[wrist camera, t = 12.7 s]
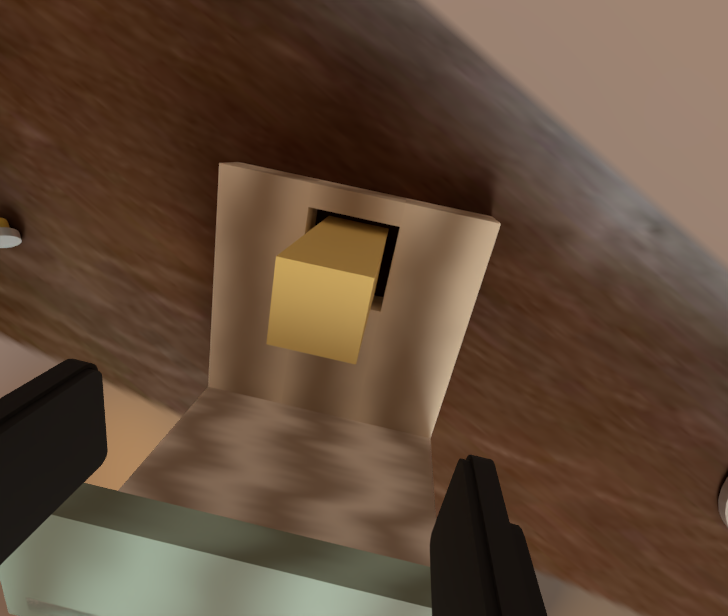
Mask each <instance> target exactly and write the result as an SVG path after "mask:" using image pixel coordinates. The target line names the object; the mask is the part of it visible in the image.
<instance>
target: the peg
mask: <svg viewBox="0 0 728 616" xmlns="http://www.w3.org/2000/svg"><path fill="white" fill-rule="evenodd" d="M388 230H389V228H384V227H379V226H375V225H370V224H366V223H361V222H356V221H352V220H347V219H342V218H338V217H333V216H328V217H327V218H325V219H324V220H323V221H321V222H320V223H319V224H317V225H316V226H315V227H314V228H312V229H311V230H310V231H308V232H307V233H306V234H304V235H303V236H302V237H301V238H299V239H298V240H297V241H295V242H294V243H293V244H291V245H290V246H289V247H287V248H286V249H285V250H284V251H282V252H281V253H280V254H278V255H277V256H276V261H275V270H274V279H273V288H272V297H271V306H270V315H269V325H268V334H267V343H266V344H268V345H272V346H277V347H281V348H285V349H290V350H294V351H299V352H303V353H307V354H312V355H316V356H321V357H325V358H329V359H334V360H338V361H343V362H347V363H351V364H356V363H357V359H358V355H359V351H360V347H361V343H362V339H363V336H364V332H365V328H366V324H367V320H368V316H369V312H370V309H371V305H372V301H373V297H374V293H375V289H376V285H377V281H378V276H379V272H380V267H381V262H382V258H383V253H384V249H385V244H386V239H387V235H388Z"/></svg>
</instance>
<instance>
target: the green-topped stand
mask: <svg viewBox="0 0 728 616" xmlns="http://www.w3.org/2000/svg"><path fill="white" fill-rule="evenodd" d="M317 209H320V210H325V211H329V212H334V213H338V214H343V215H348V216H352V217H357V218H361V219H366V220H371V221H375V222H380V223H384V224H389V225H394V226H398V227H399V231H398V236H397V240H396V244H395V249H394V253H393V257H392V262H391V266H390V270H389V275H388V279H387V283H386V288H385V292H384V297H380V296H376V295H374V297H373V301H372V305H371V309H370V312H369V316H368V320H367V324H366V328H365V332H364V336H363V339H362V343H361V347H360V351H359V355H358V359H357V363H356V364H351V363H347V362H343V361H338V360H334V359H329V358H325V357H321V356H316V355H312V354H307V353H303V352H299V351H294V350H290V349H285V348H281V347H277V346H272V345H268V344H266V343H267V334H268V325H269V315H270V306H271V297H272V288H273V279H274V270H275V261H276V256H277V255H278V254H280V253H281V252H282V251H284V250H285V249H286V248H287V247H289V246H290V245H291V244H293V243H294V242H295V241H297V240H298V239H299V238H301V237H302V236H303V235H304V234H306V233H307V232H308V231H310V230H311V229H312V228H314V227H315V223H316V216H317ZM500 225H501V223H499V222H498V221H497V220H496V219H494V218H493V217H492V216H487V215H483V214H478V213H474V212H469V211H464V210H460V209H455V208H450V207H446V206H441V205H436V204H432V203H427V202H422V201H418V200H413V199H409V198H404V197H399V196H395V195H390V194H385V193H381V192H376V191H371V190H367V189H362V188H357V187H353V186H348V185H344V184H339V183H334V182H330V181H325V180H320V179H316V178H311V177H306V176H302V175H297V174H292V173H288V172H283V171H279V170H274V169H269V168H265V167H260V166H255V165H251V164H246V163H241V162H227V163H219V177H218V197H217V218H216V238H215V259H214V279H213V300H212V320H211V341H210V361H209V382H208V387H207V389H206V390H205V391H204V392H203V393H202V394H201V396H200V397H199V398H198V399H197V400H196V401H195V402H194V404H193V405H192V406H191V407H190V408H189V409H188V411H187V412H186V413H185V414H184V415H183V416H182V417H181V419H180V420H179V421H178V422H177V423H176V424H175V426H174V427H173V428H172V429H171V430H170V431H169V433H168V434H167V435H166V436H165V437H164V438H163V439H162V441H161V442H160V443H159V444H158V445H157V446H156V448H155V449H154V450H153V451H152V452H151V453H150V455H149V456H148V457H147V458H146V459H145V460H144V461H143V463H142V464H141V465H140V466H139V467H138V468H137V470H136V471H135V472H134V473H133V474H132V475H131V476H130V478H129V479H128V480H127V481H126V482H125V483H124V485H123V486H122V487H121V488H120V489H119V490H118V491H116V490H112V489H107V488H103V487H99V486H95V485H91V484H87V483H83V484H82V485H81V486H80V487H79V488H78V489H77V490H76V491H75V492H74V493H73V494H72V495H71V496H70V497H69V498H68V499H67V500H66V501H65V502H64V503H63V504H62V505H61V506H60V507H59V508H58V509H57V510H56V511H55V512H54V513H53V514H51V515H50V516H49V517H48V518H47V519H46V520H45V521H44V522H43V523H42V524H41V525H40V526H39V527H38V528H37V529H36V530H35V531H34V532H33V533H32V534H31V535H30V536H29V537H28V538H27V539H26V540H25V541H24V542H23V543H22V544H21V545H20V546H19V547H18V548H17V549H16V550H15V551H14V552H13V553H12V554H11V555H10V556H9V557H8V558H7V559H6V560H5V561H4V562H3V563H2V564H1V565H0V580H1V585H2V588H3V592H4V596H5V600H6V604H7V608H8V612H9V613H10V614H13V615H18V616H432V601H431V574H430V538H431V533H432V530H433V528H434V525H435V522H436V514H435V500H434V485H433V471H432V456H431V441H430V438H431V435H432V432H433V429H434V426H435V423H436V419H437V416H438V413H439V410H440V407H441V404H442V401H443V398H444V395H445V392H446V389H447V386H448V383H449V380H450V377H451V374H452V371H453V368H454V365H455V362H456V359H457V356H458V353H459V350H460V347H461V343H462V340H463V337H464V334H465V331H466V328H467V325H468V322H469V319H470V316H471V313H472V310H473V307H474V304H475V301H476V298H477V295H478V292H479V289H480V286H481V283H482V280H483V277H484V274H485V271H486V268H487V264H488V261H489V258H490V255H491V252H492V249H493V246H494V243H495V240H496V237H497V234H498V231H499V228H500Z"/></svg>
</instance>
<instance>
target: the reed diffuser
mask: <svg viewBox="0 0 728 616" xmlns="http://www.w3.org/2000/svg"><path fill="white" fill-rule="evenodd" d="M21 241H22V240H21V237H20V233H19V231H18V230H16V229H13V228H10V227H9V224H8V221H7V220H6V219H4V218H0V248H9V247H14V246H17V245H19V244H20V243H21Z"/></svg>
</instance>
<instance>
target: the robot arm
mask: <svg viewBox="0 0 728 616" xmlns="http://www.w3.org/2000/svg"><path fill="white" fill-rule="evenodd" d="M106 456H107V438H106V423H105V410H104V396H103V382H102V374H101V373H100V372H99V371H98V369H97V367H96V365H95V364H92V363H88V362H84V361H80V360H76V359H67V360H65V361H63V362H61V363H60V364H58V365H56V366H55V367H53V368H51V369H49V370H48V371H46V372H44V373H43V374H41V375H39V376H38V377H36V378H34V379H33V380H31V381H29V382H27V383H26V384H24V385H22V386H21V387H19V388H17V389H15V390H14V391H12V392H11V393H9V394H7V395H5V396H4V397H2V398H1V399H0V565H1V564H2V563H3V562H4V561H5V560H6V559H7V558H8V557H9V556H10V555H11V554H12V553H13V552H14V551H15V550H16V549H17V548H18V547H19V546H20V545H21V544H22V543H23V542H24V541H25V540H26V539H27V538H28V537H29V536H30V535H31V534H32V533H33V532H34V531H35V530H36V529H37V528H38V527H39V526H40V525H41V524H42V523H43V522H44V521H45V520H46V519H47V518H48V517H49V516H50V515H51V514H53V513H54V512H55V511H56V510H57V509H58V508H59V507H60V506H61V505H62V504H63V503H64V502H65V501H66V500H67V499H68V498H69V497H70V496H71V495H72V494H73V493H74V492H75V491H76V490H77V489H78V488H79V487H80V486H81V485H82V484H83V483H84V482H85V481H86V480H87V479H88V478H89V477H90V476H91V475H92V474H93V473H94V472H95V471H96V470H97V469H98V468H99V467H100V466H101V465H102V463H103V462H104V460H105V458H106ZM718 506H719V513H720V516H721V518H722V521H723V522H724V523H725V525H726V526H727V527H728V477H727V478H726V480H725V482H724V484H723V486H722V488H721V491H720V495H719V499H718ZM430 574H431V601H432V616H547V613H546V609H545V606H544V603H543V599H542V596H541V592H540V589H539V585H538V582H537V578H536V575H535V571H534V568H533V564H532V561H531V557H530V554H529V550H528V547H527V543H526V540H525V536H524V534H523V531H522V529H521V528H520V527H519V525H515V524H511V523H510V522H509V519H508V515H507V511H506V507H505V503H504V499H503V495H502V491H501V487H500V484H499V480H498V476H497V472H496V468H495V464H494V462H493V461H492V460H491V459H486V458H482V457H478V456H474V455H468V456H467V458H466V460H465V459H459V461H458V463H457V466H456V468H455V471H454V474H453V476H452V479H451V482H450V485H449V487H448V490H447V493H446V495H445V498H444V501H443V503H442V506H441V509H440V511H439V514H438V517H437V519H436V522H435V525H434V528H433V530H432V533H431V538H430Z"/></svg>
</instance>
